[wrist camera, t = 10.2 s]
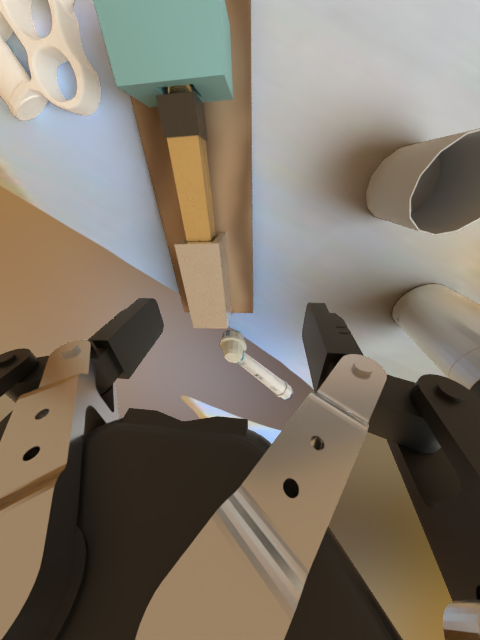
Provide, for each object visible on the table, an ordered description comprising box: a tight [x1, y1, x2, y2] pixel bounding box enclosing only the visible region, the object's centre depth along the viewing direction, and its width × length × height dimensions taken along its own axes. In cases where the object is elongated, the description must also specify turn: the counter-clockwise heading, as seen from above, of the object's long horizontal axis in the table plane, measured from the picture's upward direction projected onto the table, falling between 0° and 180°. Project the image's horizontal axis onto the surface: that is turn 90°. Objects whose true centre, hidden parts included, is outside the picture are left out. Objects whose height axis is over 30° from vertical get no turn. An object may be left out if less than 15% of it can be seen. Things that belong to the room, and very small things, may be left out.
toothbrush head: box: [220, 330, 293, 400], centre depth 47 cm, size 5×7×25 cm
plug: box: [156, 84, 216, 242], centre depth 24 cm, size 4×22×4 cm, turn 3°
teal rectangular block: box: [93, 0, 233, 108], centre depth 19 cm, size 10×5×6 cm, turn 93°
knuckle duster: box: [0, 0, 101, 121], centre depth 20 cm, size 3×18×15 cm
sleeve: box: [174, 232, 232, 329], centre depth 32 cm, size 6×14×6 cm, turn 3°
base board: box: [130, 0, 253, 313], centre depth 30 cm, size 14×36×2 cm, turn 3°
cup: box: [366, 129, 480, 235], centre depth 22 cm, size 8×8×10 cm
